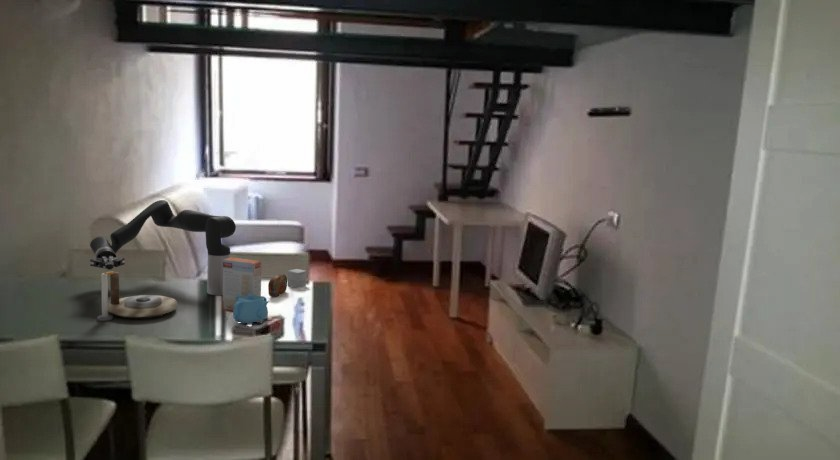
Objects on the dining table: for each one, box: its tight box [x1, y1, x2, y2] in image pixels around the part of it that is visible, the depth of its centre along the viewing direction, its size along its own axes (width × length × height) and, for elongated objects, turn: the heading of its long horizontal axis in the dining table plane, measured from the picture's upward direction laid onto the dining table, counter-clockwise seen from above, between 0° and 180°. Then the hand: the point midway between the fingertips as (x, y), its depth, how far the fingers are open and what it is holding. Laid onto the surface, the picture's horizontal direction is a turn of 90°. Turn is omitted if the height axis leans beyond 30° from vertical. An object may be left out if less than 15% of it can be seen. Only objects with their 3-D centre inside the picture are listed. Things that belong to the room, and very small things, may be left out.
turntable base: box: [119, 313, 167, 320], centre depth 244 cm, size 18×18×2 cm
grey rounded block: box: [287, 268, 307, 289], centre depth 295 cm, size 6×6×7 cm
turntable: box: [108, 271, 178, 317], centre depth 243 cm, size 24×24×14 cm
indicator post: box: [96, 270, 115, 322], centre depth 232 cm, size 6×5×17 cm
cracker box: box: [222, 256, 263, 313], centre depth 251 cm, size 14×6×21 cm, turn 71°
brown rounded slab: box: [267, 274, 288, 298], centre depth 279 cm, size 15×3×8 cm, turn 168°
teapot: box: [232, 294, 270, 324], centre depth 239 cm, size 13×14×11 cm
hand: (109, 267), depth 245 cm, fingers closed
